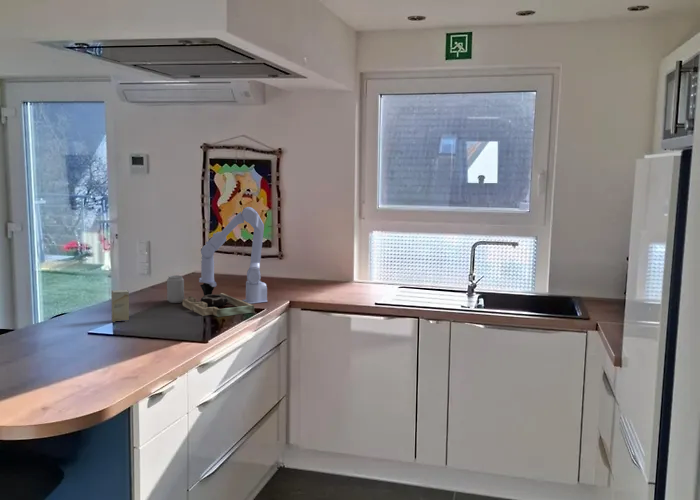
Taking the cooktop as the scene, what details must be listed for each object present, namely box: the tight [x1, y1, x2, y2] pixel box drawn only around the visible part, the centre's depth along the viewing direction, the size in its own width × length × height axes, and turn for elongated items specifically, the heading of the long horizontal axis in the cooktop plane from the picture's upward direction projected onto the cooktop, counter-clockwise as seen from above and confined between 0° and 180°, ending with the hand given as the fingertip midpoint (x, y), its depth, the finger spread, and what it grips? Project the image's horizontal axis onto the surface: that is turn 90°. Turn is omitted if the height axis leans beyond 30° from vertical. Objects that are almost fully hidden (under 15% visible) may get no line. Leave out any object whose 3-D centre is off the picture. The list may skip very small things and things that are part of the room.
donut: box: [200, 293, 227, 308], centre depth 285 cm, size 12×12×4 cm
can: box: [166, 274, 185, 304], centre depth 288 cm, size 8×8×12 cm
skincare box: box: [111, 289, 130, 323], centre depth 251 cm, size 6×4×12 cm
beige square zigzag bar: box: [182, 292, 255, 318], centre depth 279 cm, size 22×31×3 cm
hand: (207, 299), depth 291 cm, fingers closed
